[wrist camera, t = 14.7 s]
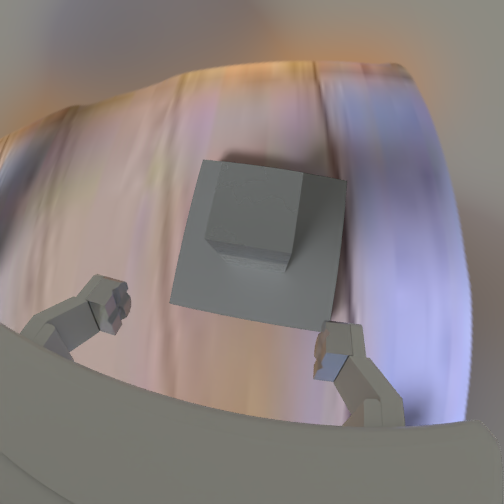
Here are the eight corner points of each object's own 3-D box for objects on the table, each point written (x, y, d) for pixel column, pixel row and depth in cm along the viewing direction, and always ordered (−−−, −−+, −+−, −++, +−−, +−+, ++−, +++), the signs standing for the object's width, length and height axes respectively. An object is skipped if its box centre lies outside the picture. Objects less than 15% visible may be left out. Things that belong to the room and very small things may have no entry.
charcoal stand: (179, 303, 28) (169, 303, 25) (208, 172, 31) (203, 159, 28) (321, 330, 27) (327, 332, 24) (340, 192, 29) (347, 180, 26)
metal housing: (227, 262, 26) (204, 238, 17) (238, 208, 26) (222, 161, 18) (284, 272, 25) (291, 253, 16) (293, 217, 26) (303, 172, 17)
